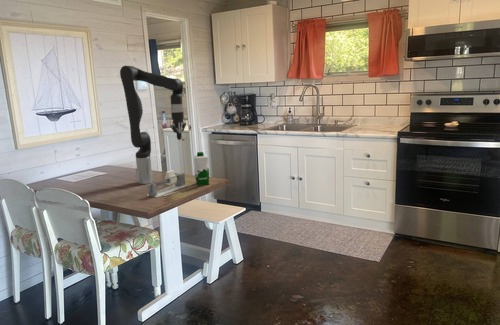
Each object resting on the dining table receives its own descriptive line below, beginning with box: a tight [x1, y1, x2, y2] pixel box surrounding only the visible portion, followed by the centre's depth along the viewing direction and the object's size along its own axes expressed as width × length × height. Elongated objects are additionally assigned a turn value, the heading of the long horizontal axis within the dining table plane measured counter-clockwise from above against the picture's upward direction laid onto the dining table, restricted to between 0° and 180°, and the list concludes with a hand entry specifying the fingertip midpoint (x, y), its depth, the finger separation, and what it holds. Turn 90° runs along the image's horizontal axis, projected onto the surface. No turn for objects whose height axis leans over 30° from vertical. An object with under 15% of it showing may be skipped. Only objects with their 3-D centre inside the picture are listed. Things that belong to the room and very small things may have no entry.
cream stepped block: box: [164, 169, 177, 186], centre depth 237 cm, size 5×5×8 cm
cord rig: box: [146, 172, 187, 198], centre depth 235 cm, size 27×8×8 cm, turn 150°
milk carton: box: [193, 151, 210, 186], centre depth 247 cm, size 9×9×20 cm
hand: (179, 138), depth 246 cm, fingers closed
